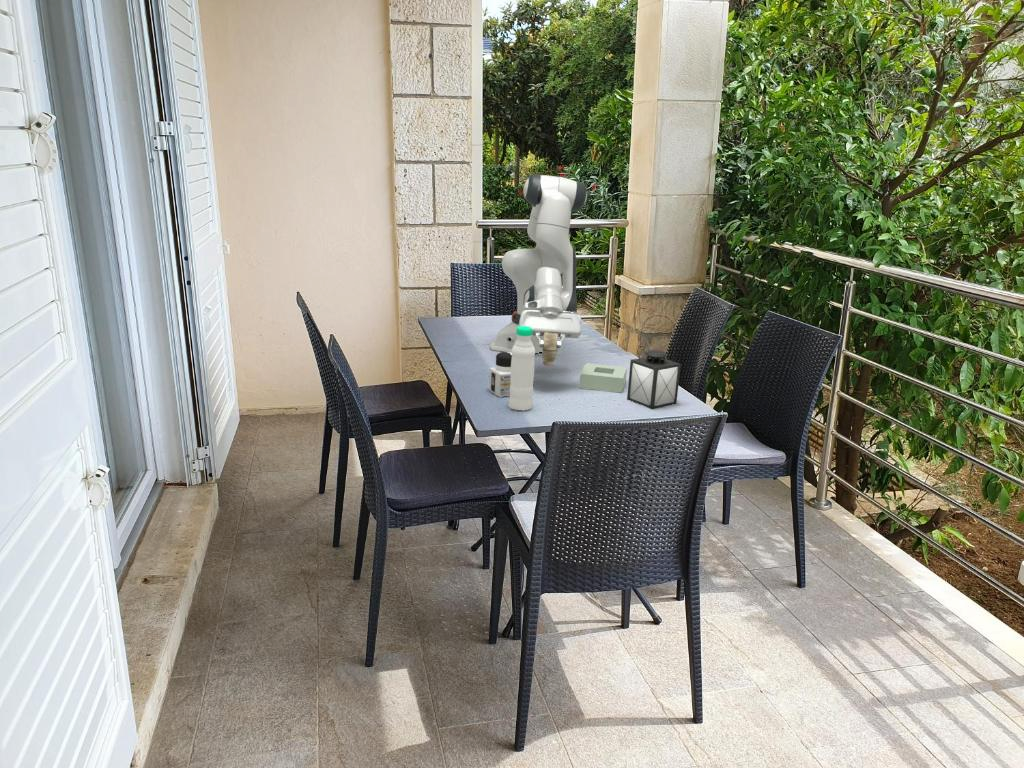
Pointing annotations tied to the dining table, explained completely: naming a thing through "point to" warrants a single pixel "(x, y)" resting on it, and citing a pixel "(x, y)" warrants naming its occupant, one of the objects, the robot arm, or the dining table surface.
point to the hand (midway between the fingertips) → (550, 346)
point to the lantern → (653, 379)
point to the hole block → (603, 377)
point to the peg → (549, 348)
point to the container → (501, 375)
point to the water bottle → (522, 370)
